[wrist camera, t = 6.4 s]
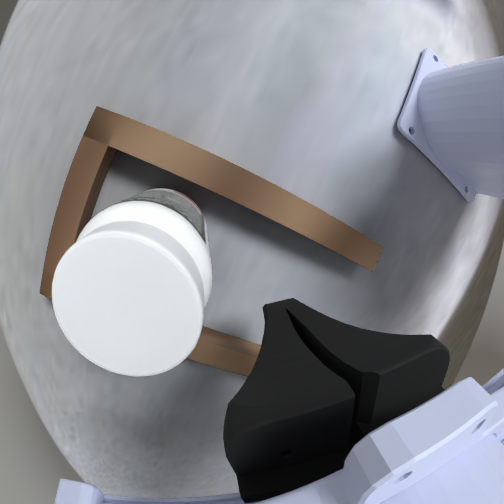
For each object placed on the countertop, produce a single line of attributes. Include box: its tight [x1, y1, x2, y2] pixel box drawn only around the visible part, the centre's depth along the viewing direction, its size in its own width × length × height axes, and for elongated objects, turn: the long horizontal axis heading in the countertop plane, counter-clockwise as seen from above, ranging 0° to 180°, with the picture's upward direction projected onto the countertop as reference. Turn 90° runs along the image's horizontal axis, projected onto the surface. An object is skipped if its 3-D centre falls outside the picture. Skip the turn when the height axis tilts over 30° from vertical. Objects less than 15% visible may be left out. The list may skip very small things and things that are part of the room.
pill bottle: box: [52, 188, 213, 377], centre depth 10 cm, size 5×5×8 cm
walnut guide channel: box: [40, 106, 384, 376], centre depth 14 cm, size 16×10×2 cm, turn 63°
